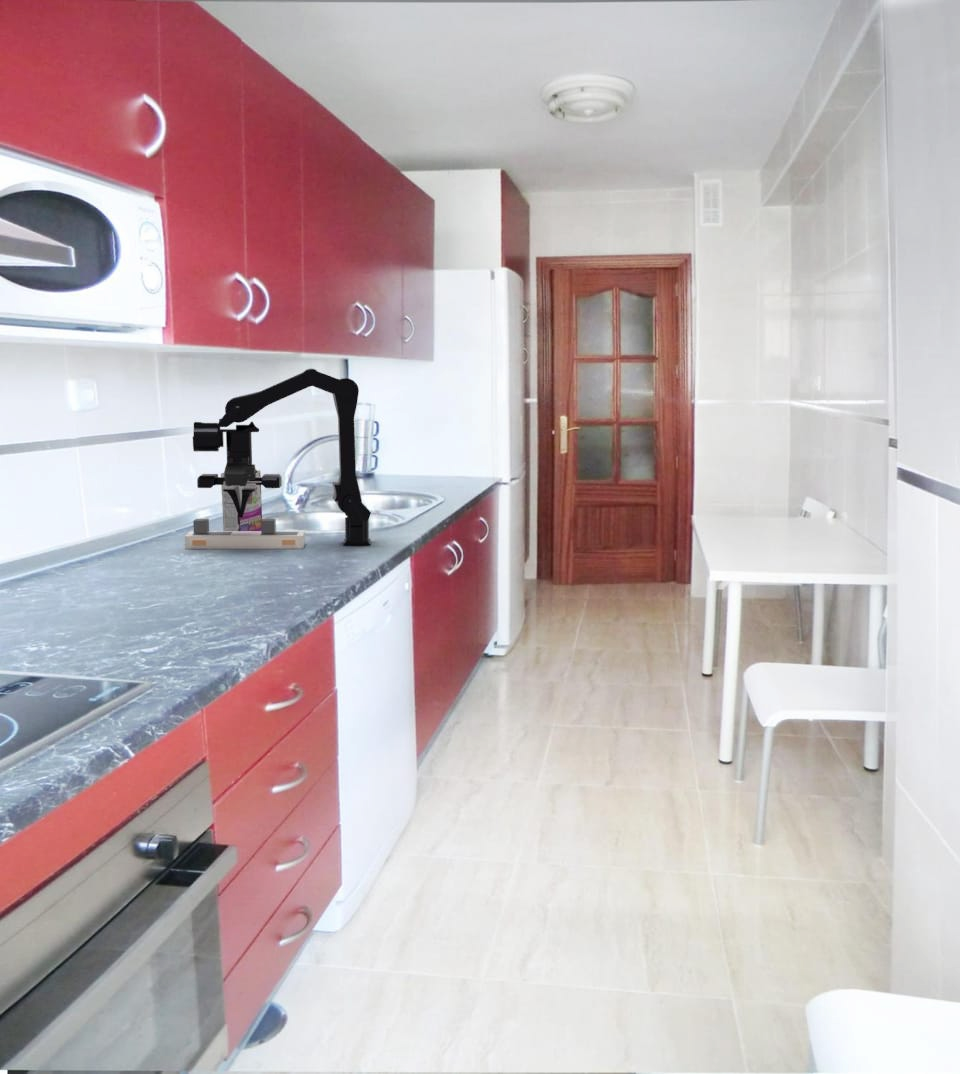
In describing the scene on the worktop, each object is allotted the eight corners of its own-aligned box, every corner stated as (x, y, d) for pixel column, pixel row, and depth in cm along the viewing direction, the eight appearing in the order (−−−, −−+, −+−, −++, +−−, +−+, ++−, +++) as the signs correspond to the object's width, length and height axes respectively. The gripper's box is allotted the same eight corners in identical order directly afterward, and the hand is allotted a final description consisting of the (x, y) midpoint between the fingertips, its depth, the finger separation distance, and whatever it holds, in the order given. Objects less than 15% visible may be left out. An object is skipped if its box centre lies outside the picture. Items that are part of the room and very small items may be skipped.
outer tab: (196, 531, 220) (195, 518, 220) (209, 531, 221) (208, 518, 220) (193, 533, 217) (193, 520, 217) (206, 533, 218) (206, 520, 217)
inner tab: (263, 531, 222) (262, 518, 222) (275, 531, 222) (275, 518, 222) (261, 533, 219) (261, 520, 219) (274, 533, 219) (274, 520, 219)
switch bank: (191, 543, 223) (190, 530, 222) (305, 543, 226) (305, 530, 225) (184, 549, 215) (184, 535, 215) (302, 548, 218) (302, 535, 218)
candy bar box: (246, 531, 242) (244, 468, 239) (263, 532, 240) (261, 469, 237) (221, 538, 231) (219, 472, 228) (239, 539, 230) (237, 473, 227)
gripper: (191, 453, 208) (194, 522, 211) (276, 454, 210) (277, 522, 213) (200, 450, 219) (203, 515, 221) (281, 450, 221) (282, 515, 224)
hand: (241, 517), depth 219 cm, fingers closed
